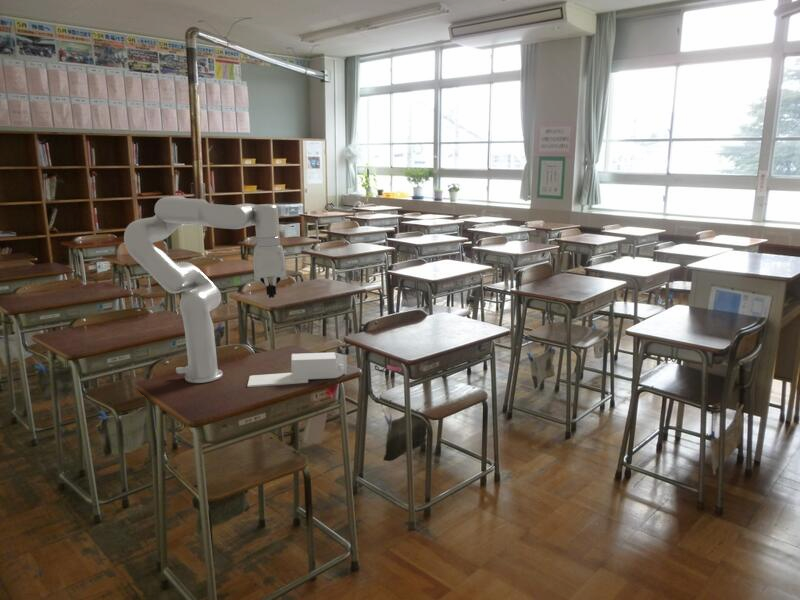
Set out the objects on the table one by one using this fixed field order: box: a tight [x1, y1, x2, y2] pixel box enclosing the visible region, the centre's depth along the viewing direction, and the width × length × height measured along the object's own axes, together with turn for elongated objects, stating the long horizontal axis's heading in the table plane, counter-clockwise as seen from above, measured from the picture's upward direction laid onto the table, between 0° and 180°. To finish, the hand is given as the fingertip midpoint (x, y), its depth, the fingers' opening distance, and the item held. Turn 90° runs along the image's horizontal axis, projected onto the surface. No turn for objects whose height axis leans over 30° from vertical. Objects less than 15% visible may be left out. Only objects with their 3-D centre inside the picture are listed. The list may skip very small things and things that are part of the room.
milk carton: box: [290, 351, 348, 380], centre depth 211 cm, size 7×7×19 cm
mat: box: [246, 372, 309, 388], centre depth 210 cm, size 20×10×1 cm, turn 99°
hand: (271, 296), depth 204 cm, fingers closed
